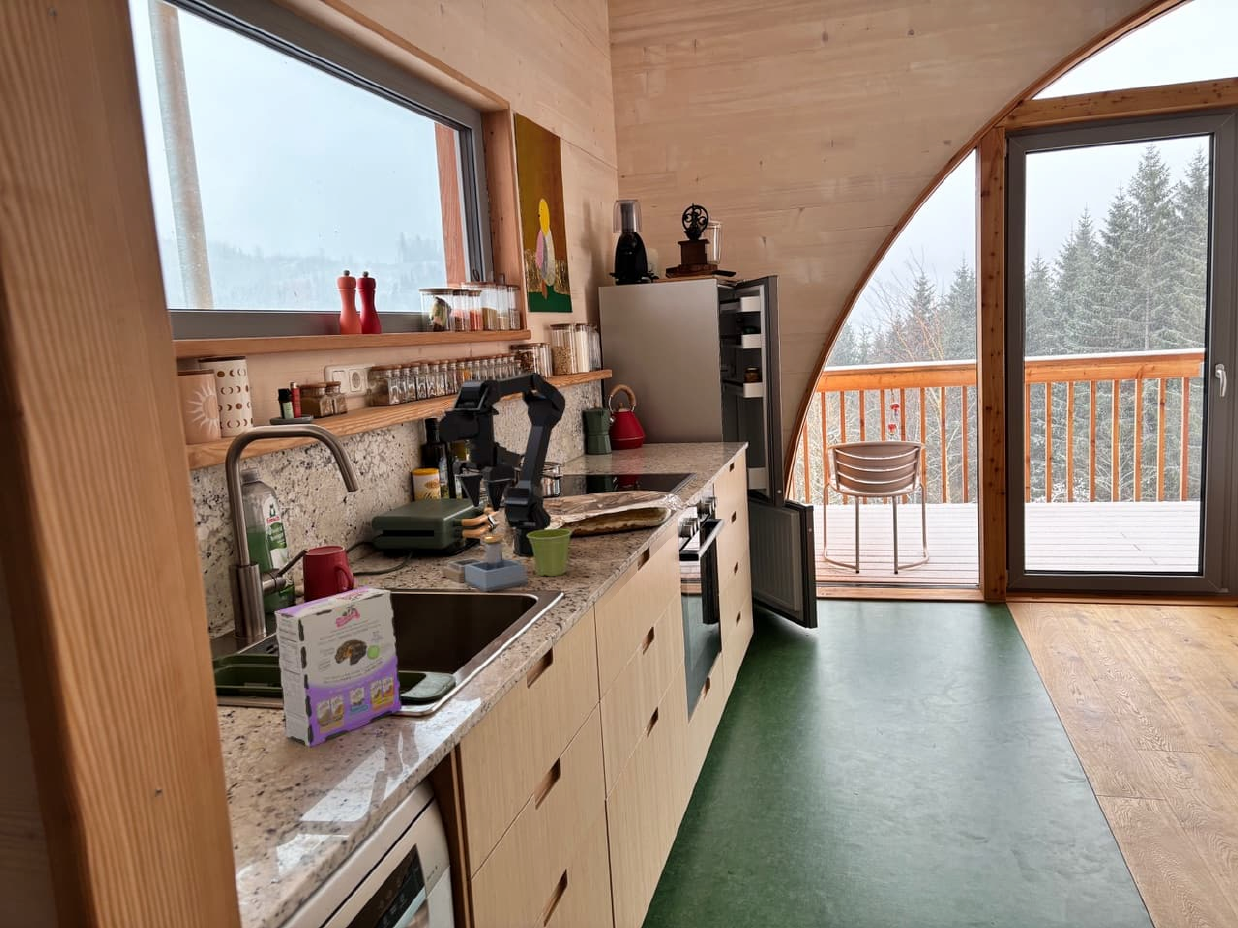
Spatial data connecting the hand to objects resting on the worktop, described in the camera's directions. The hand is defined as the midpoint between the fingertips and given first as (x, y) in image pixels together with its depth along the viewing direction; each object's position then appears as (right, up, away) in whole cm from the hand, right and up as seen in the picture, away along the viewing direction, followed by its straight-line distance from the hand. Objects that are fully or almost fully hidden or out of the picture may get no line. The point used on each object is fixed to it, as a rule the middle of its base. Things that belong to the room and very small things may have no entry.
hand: (486, 509), depth 201 cm
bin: (+4, -15, -13) cm, 20 cm away
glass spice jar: (+4, -14, -13) cm, 19 cm away
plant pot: (+15, -13, -6) cm, 21 cm away
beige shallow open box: (-3, -14, -5) cm, 15 cm away
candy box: (-6, -24, -82) cm, 86 cm away
